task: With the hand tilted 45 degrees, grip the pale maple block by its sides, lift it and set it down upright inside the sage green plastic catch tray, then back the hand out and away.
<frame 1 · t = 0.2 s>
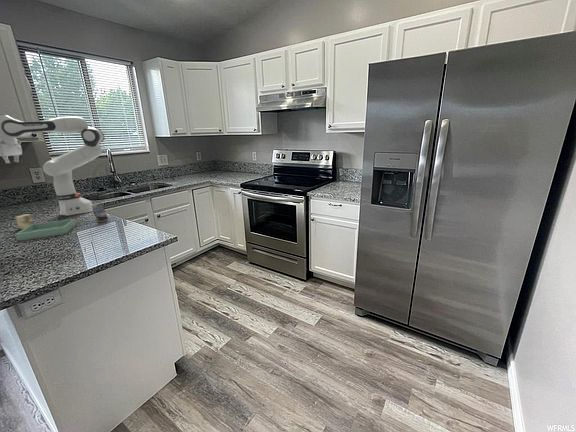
hand: (12, 162, 175), 39 cm above the countertop, tool pointing down, fingers open, 8 cm apart
maple block: (27, 227, 166), on the countertop
catch tray: (49, 232, 156), on the countertop
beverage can: (102, 221, 171), on the countertop
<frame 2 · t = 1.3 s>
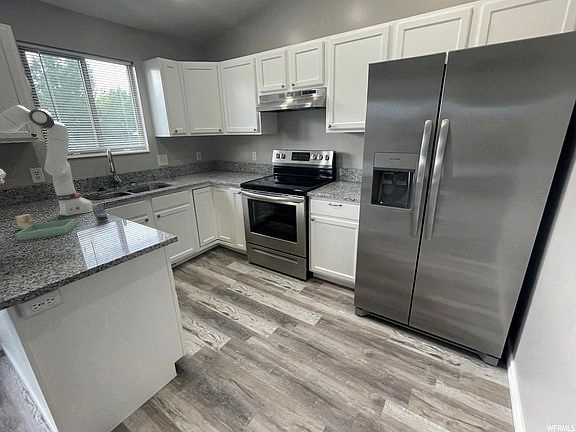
nothing on the countertop moved.
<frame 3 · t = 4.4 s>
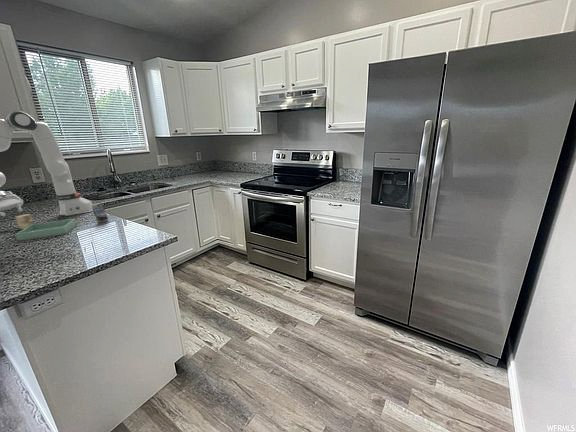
hand: (13, 213, 163), 10 cm above the countertop, tool tilted 45°, fingers open, 8 cm apart
nothing on the countertop moved.
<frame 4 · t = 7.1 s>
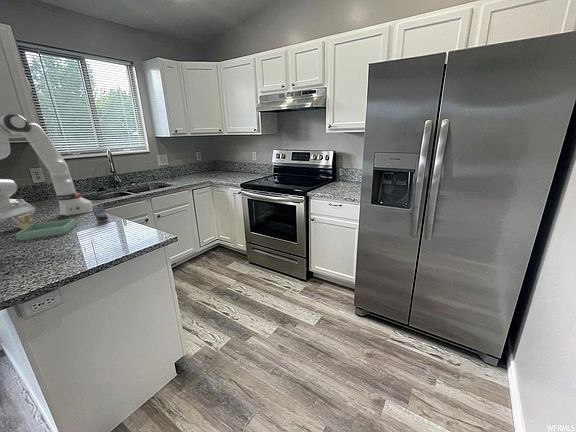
hand: (25, 221, 164), 4 cm above the countertop, tool tilted 45°, fingers closed on maple block, 5 cm apart
maple block: (27, 227, 166), on the countertop, touching gripper
everything else where it was.
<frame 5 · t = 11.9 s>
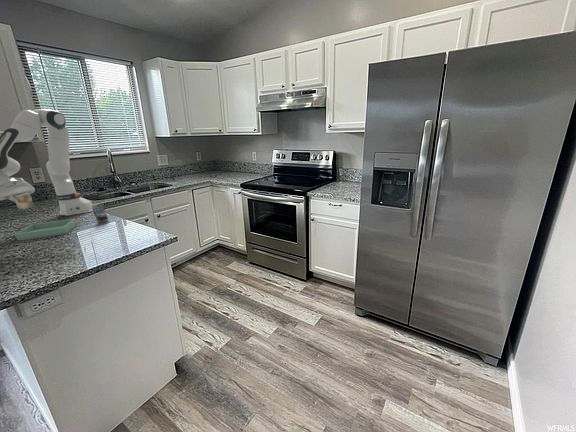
hand: (24, 200, 156), 18 cm above the countertop, tool tilted 45°, fingers closed on maple block, 5 cm apart
maple block: (26, 207, 157), point 14 cm above the countertop, touching gripper
everything else where it was.
when the fingers open (7 cm above the countertop, at t = 17.0 s): maple block drops 1 cm, resting on catch tray.
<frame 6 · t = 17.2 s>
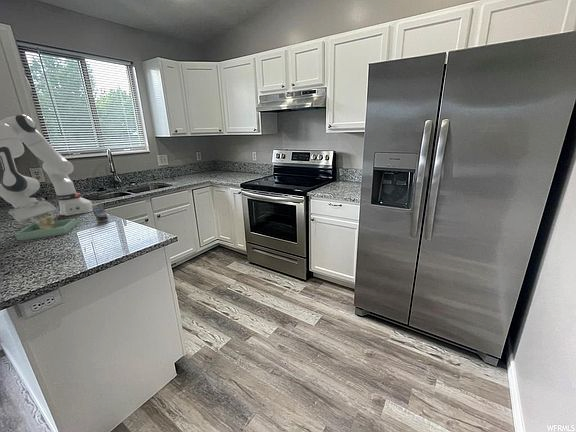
hand: (46, 221, 153), 7 cm above the countertop, tool tilted 45°, fingers open, 7 cm apart
maple block: (49, 230, 155), point 1 cm above the countertop, touching catch tray
everything else where it was.
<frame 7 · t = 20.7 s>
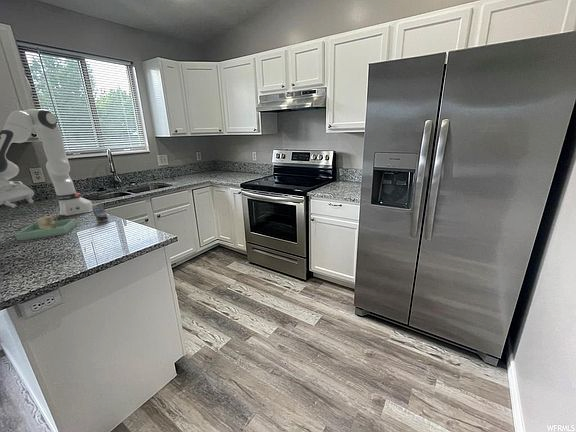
hand: (23, 204, 152), 17 cm above the countertop, tool tilted 45°, fingers open, 8 cm apart
nothing on the countertop moved.
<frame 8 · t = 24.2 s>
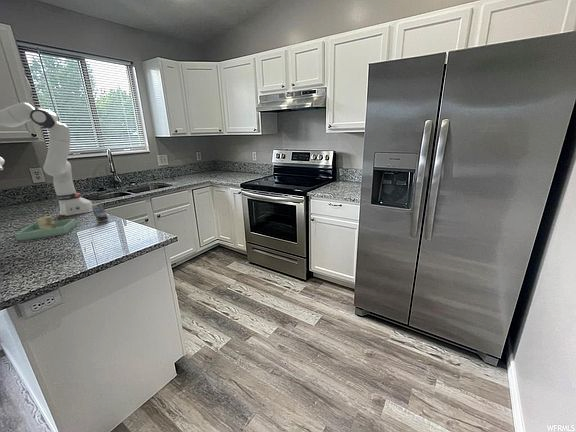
nothing on the countertop moved.
at the end: maple block inside the target area on the catch tray (0.0 cm from its centre), point 1.0 cm above the catch tray's base; maple block tilted 0°; the gripper is holding nothing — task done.
